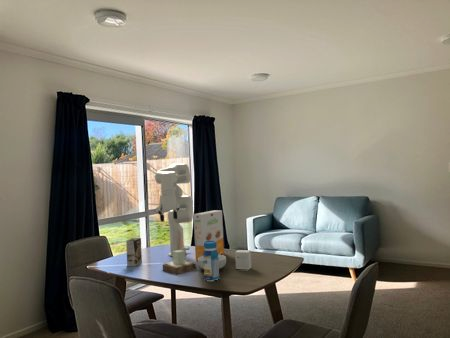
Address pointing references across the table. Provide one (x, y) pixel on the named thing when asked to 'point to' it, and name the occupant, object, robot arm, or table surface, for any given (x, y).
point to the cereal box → (208, 231)
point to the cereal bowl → (221, 261)
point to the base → (179, 267)
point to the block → (178, 257)
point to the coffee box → (134, 252)
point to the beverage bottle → (211, 261)
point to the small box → (243, 259)
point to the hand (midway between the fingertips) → (168, 220)
